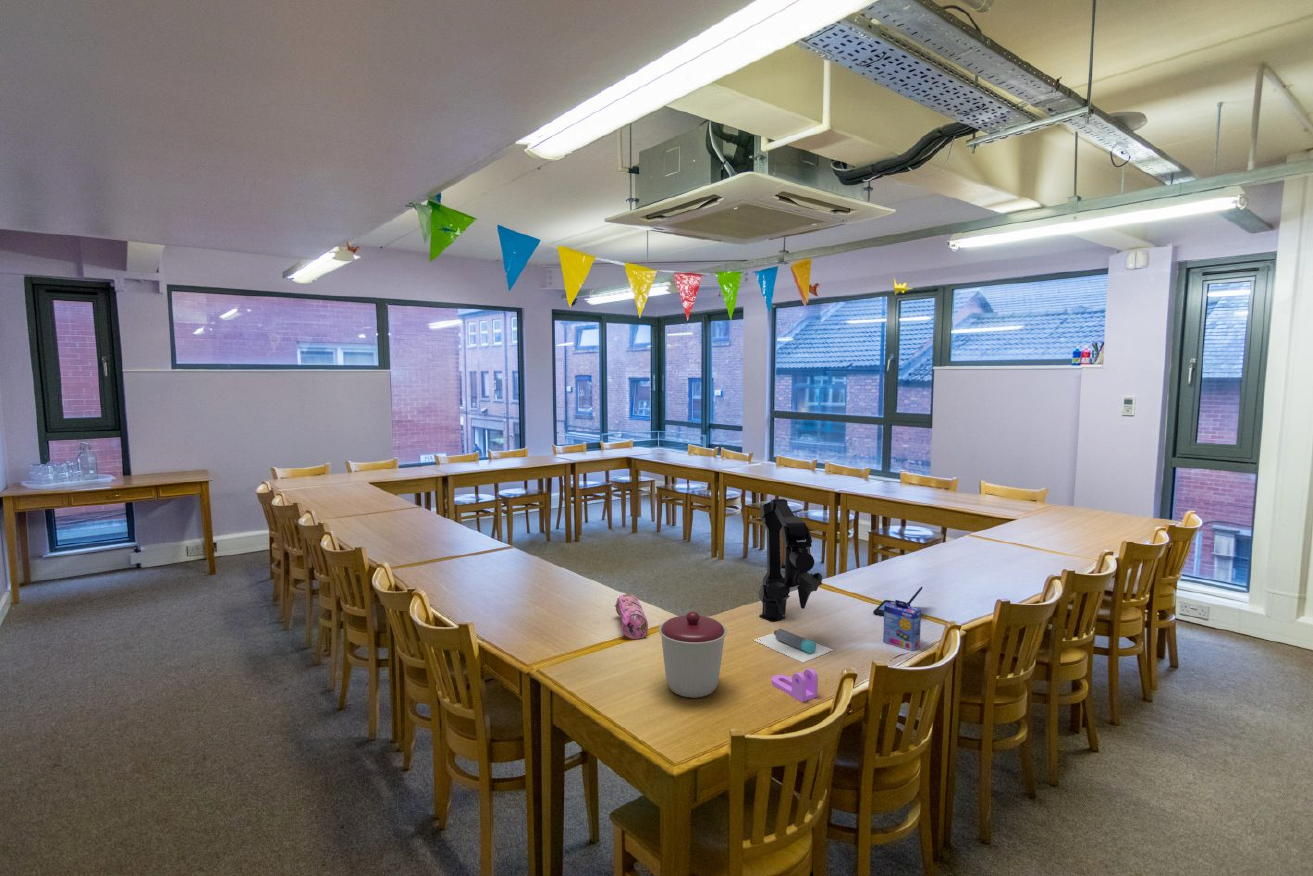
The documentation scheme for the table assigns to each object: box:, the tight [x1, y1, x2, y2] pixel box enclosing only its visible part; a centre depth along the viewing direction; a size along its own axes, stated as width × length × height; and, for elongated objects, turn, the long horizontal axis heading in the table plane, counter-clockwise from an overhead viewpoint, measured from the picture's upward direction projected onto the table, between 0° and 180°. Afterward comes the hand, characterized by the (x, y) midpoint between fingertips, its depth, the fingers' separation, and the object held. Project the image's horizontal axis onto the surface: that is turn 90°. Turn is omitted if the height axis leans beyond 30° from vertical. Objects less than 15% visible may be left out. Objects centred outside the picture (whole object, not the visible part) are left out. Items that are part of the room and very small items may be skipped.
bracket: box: [771, 668, 819, 703], centre depth 169 cm, size 13×6×7 cm, turn 33°
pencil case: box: [614, 593, 649, 640], centre depth 211 cm, size 21×9×9 cm, turn 11°
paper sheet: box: [753, 632, 834, 664], centre depth 198 cm, size 20×14×1 cm
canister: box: [658, 611, 728, 698], centre depth 169 cm, size 18×18×21 cm
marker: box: [773, 628, 817, 654], centre depth 197 cm, size 15×4×4 cm
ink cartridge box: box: [882, 599, 922, 652], centre depth 199 cm, size 10×6×14 cm, turn 44°
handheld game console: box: [872, 586, 923, 618], centre depth 227 cm, size 16×13×9 cm
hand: (793, 611), depth 197 cm, fingers open, 9 cm apart
